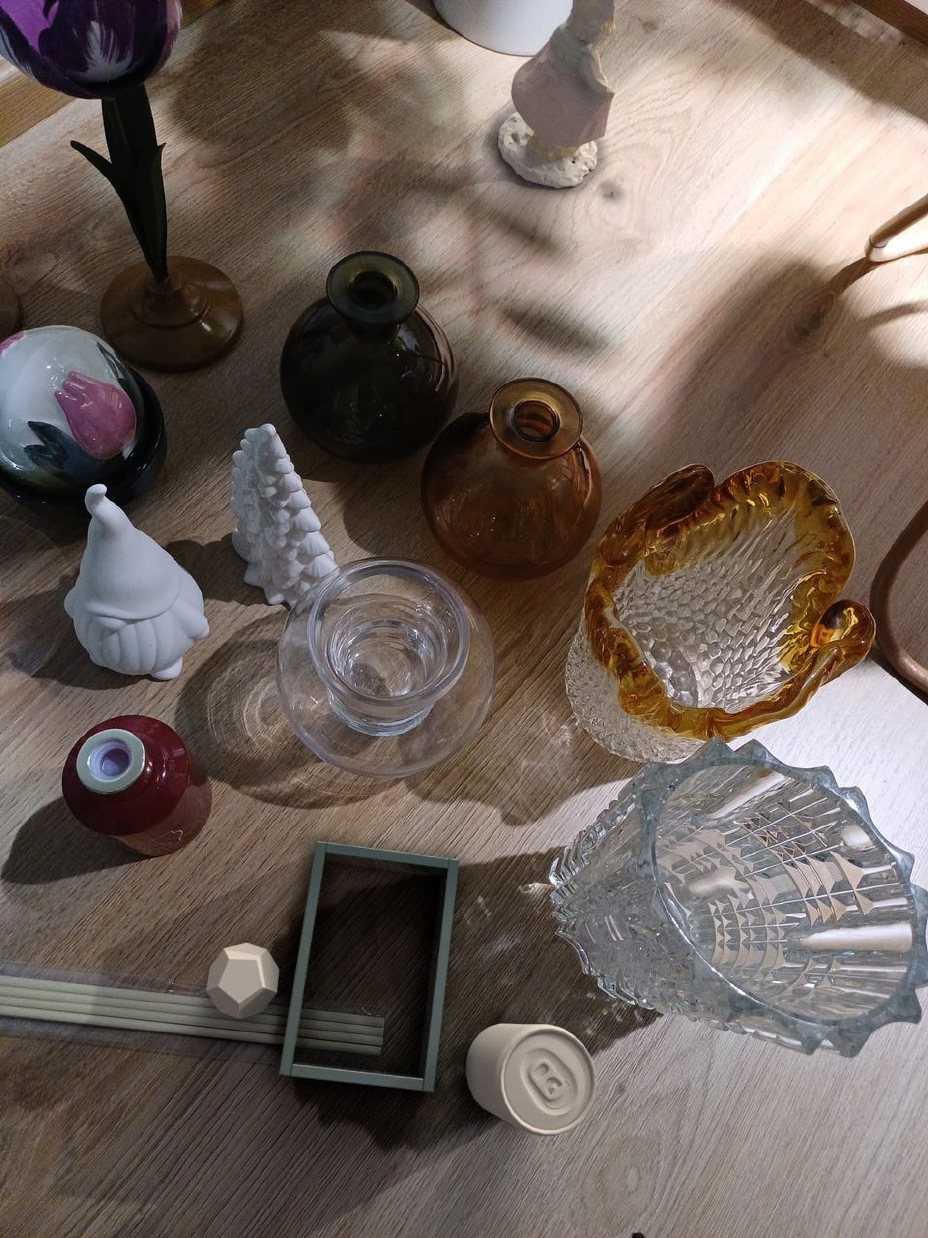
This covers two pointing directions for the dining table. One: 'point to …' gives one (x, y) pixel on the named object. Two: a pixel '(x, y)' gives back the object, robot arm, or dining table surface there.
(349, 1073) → the bottomless rectangular frame
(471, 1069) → the beverage can
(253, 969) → the polyhedron
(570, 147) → the figurine
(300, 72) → the dining table surface
